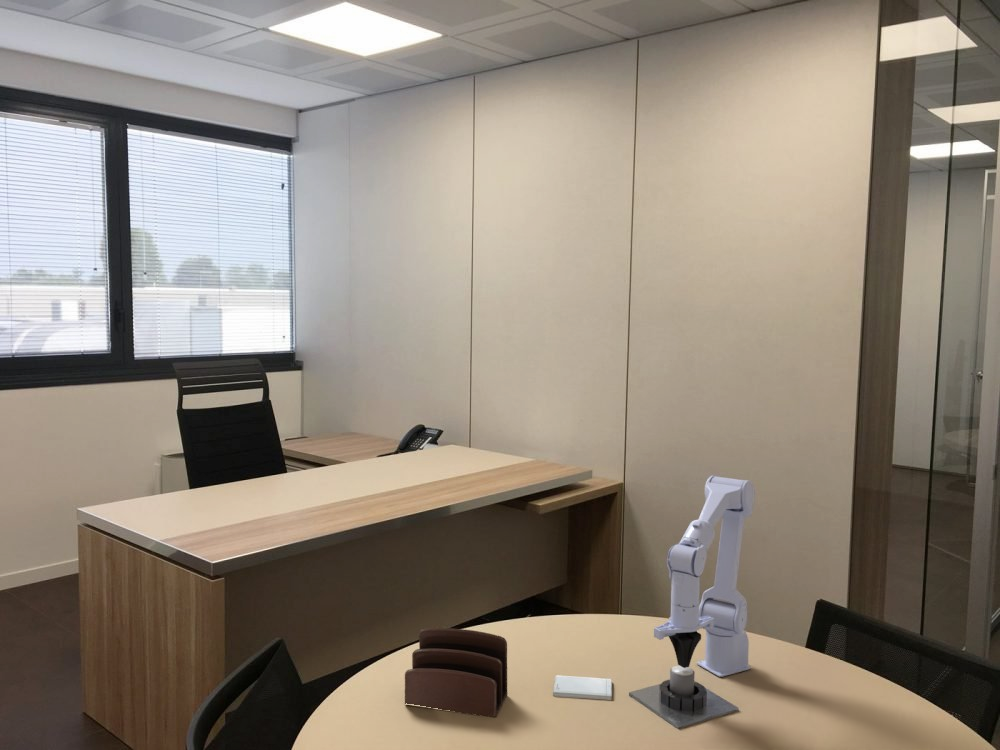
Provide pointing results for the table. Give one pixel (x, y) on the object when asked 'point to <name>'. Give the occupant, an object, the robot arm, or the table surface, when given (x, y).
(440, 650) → the letter holder
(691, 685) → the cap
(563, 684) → the hard drive
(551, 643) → the table surface
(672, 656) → the table surface
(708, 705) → the flat grey square plate
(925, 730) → the table surface
